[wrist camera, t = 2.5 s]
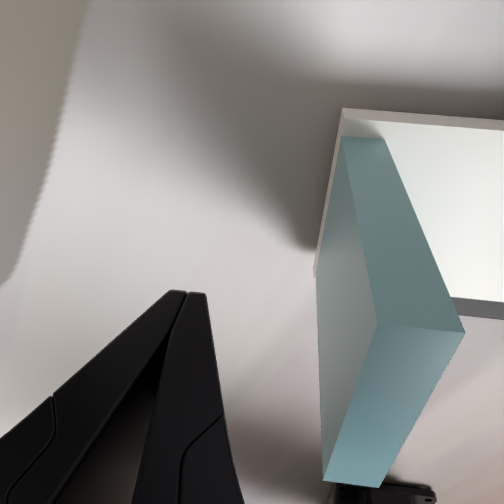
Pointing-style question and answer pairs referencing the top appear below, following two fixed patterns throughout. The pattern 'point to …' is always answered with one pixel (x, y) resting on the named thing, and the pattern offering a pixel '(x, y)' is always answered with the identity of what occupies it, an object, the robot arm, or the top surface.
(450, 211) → the sled
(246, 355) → the top surface
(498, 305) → the pad
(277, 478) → the top surface
